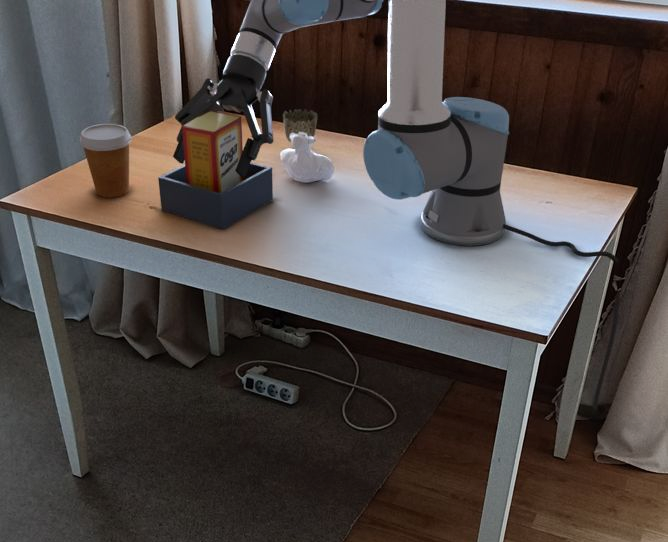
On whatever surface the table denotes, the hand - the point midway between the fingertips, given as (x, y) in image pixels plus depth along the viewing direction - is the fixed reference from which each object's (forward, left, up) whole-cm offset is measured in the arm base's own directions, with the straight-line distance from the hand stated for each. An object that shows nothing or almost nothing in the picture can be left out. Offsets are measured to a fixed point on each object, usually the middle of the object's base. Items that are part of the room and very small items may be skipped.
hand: (208, 167), depth 156 cm
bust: (-7, -22, -9) cm, 24 cm away
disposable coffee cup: (+21, +4, -9) cm, 23 cm away
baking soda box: (+1, -2, -8) cm, 8 cm away
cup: (+3, -35, -9) cm, 36 cm away
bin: (0, -2, -8) cm, 9 cm away
